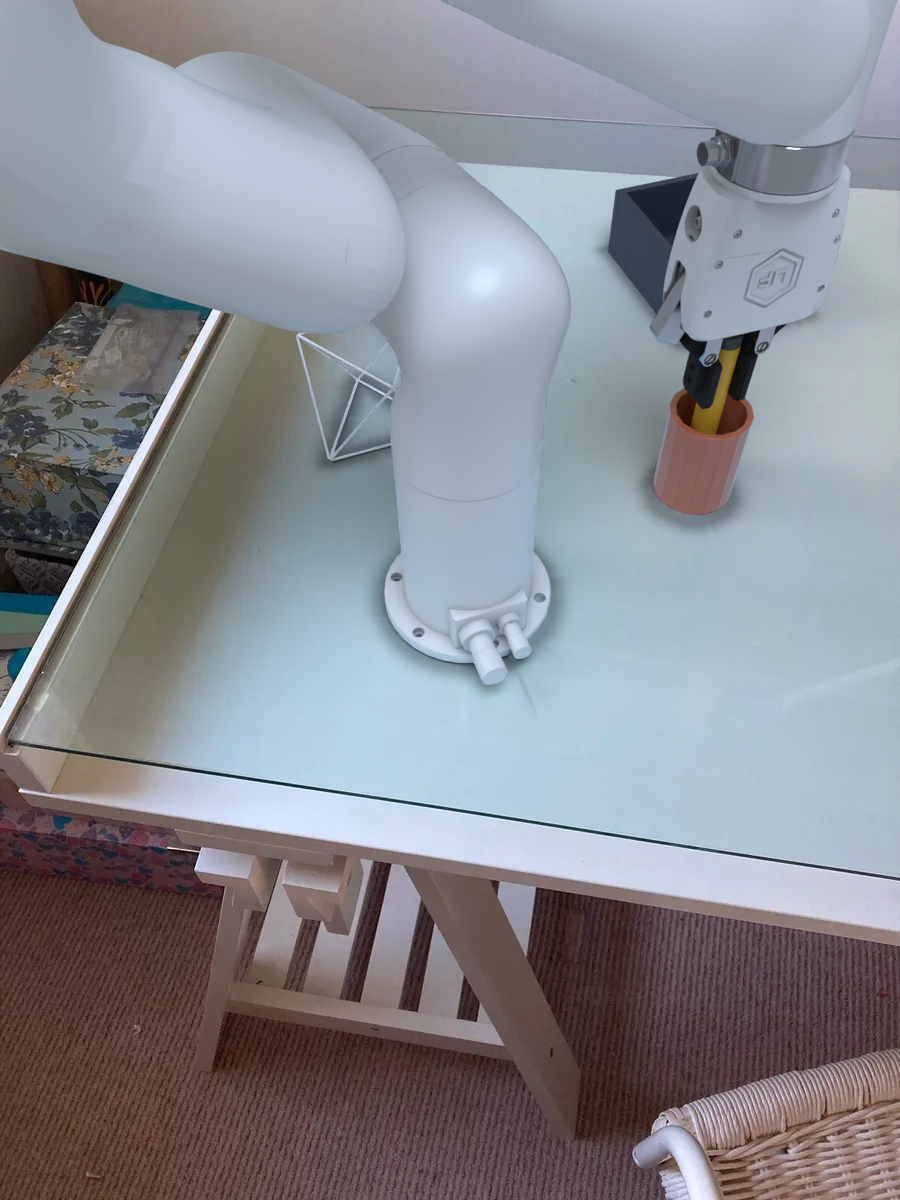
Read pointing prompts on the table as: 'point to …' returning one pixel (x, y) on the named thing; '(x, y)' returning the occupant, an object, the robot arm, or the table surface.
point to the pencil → (718, 388)
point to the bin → (648, 231)
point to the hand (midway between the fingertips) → (713, 391)
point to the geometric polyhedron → (393, 388)
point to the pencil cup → (700, 456)
